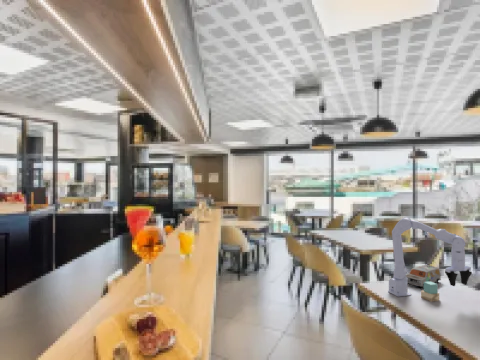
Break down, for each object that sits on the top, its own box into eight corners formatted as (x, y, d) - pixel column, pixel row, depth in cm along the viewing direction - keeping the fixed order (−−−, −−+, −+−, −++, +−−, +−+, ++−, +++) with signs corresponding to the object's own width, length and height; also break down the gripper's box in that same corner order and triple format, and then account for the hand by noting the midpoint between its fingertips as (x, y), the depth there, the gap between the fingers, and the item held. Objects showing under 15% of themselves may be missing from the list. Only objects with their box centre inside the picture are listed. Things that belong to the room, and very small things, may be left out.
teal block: (430, 293, 155) (430, 284, 155) (423, 290, 160) (423, 281, 160) (437, 293, 156) (437, 284, 156) (430, 290, 161) (430, 281, 161)
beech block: (431, 302, 154) (431, 294, 154) (421, 297, 160) (421, 290, 160) (439, 300, 156) (439, 293, 156) (428, 296, 162) (428, 289, 162)
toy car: (404, 284, 181) (403, 268, 181) (424, 277, 194) (424, 263, 194) (422, 290, 172) (421, 273, 172) (441, 282, 185) (441, 267, 185)
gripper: (454, 262, 145) (454, 288, 145) (476, 260, 149) (476, 286, 148) (441, 258, 152) (442, 284, 152) (463, 256, 155) (463, 281, 155)
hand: (458, 284), depth 151 cm, fingers open, 7 cm apart
